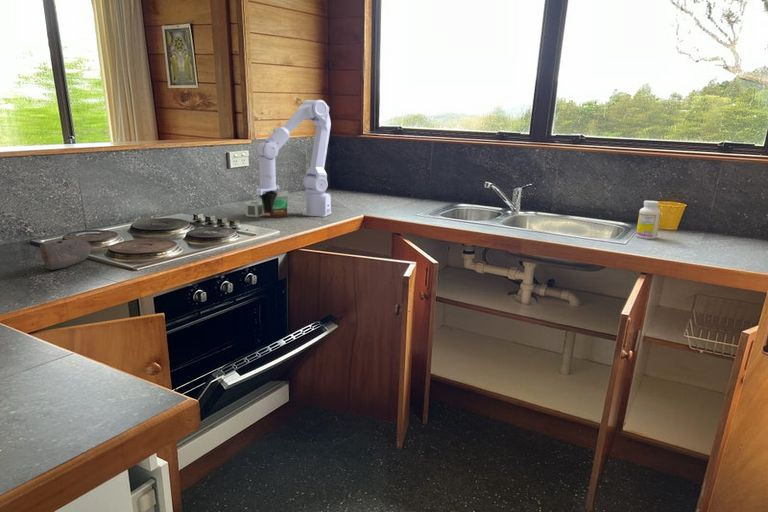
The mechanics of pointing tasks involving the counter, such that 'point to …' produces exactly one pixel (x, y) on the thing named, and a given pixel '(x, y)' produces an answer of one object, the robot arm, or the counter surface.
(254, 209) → the letter cube
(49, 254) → the perforated stone tool
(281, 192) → the food container
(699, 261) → the counter surface
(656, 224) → the supplement bottle
